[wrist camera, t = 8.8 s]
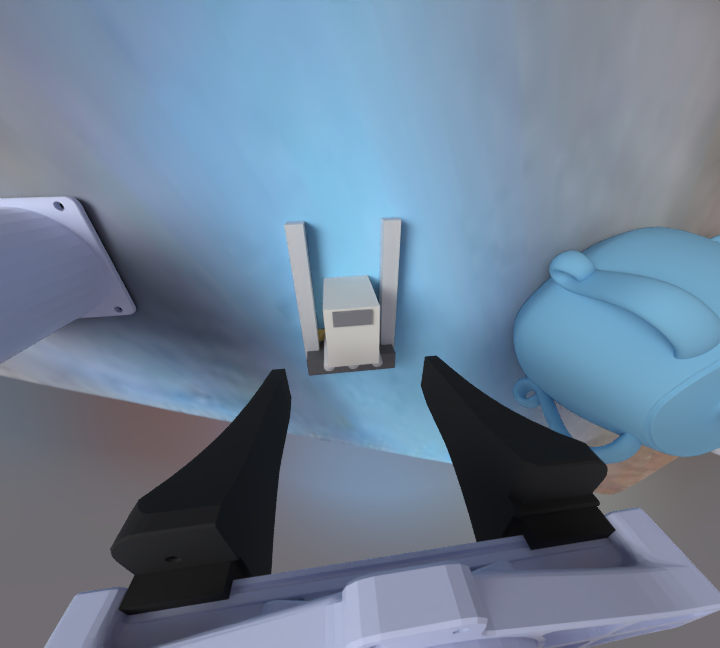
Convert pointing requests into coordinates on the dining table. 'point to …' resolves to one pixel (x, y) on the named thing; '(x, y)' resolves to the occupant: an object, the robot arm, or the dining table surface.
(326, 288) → the plug block
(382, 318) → the socket
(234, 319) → the dining table surface
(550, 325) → the decorative pot
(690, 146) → the dining table surface
